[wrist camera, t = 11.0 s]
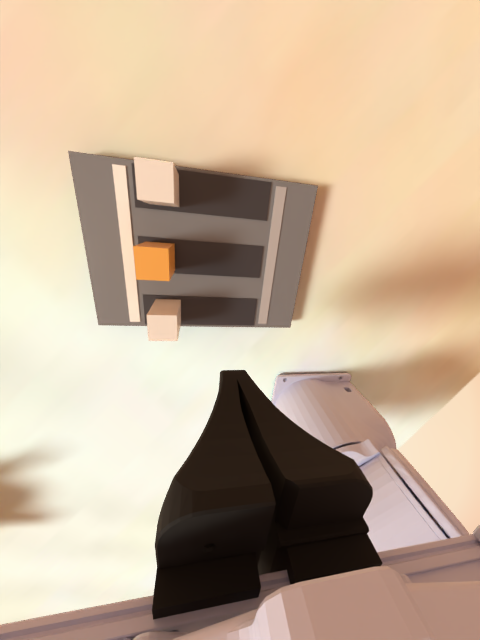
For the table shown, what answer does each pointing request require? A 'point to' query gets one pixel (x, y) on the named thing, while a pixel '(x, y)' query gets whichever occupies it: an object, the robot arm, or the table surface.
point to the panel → (191, 243)
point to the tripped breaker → (154, 261)
